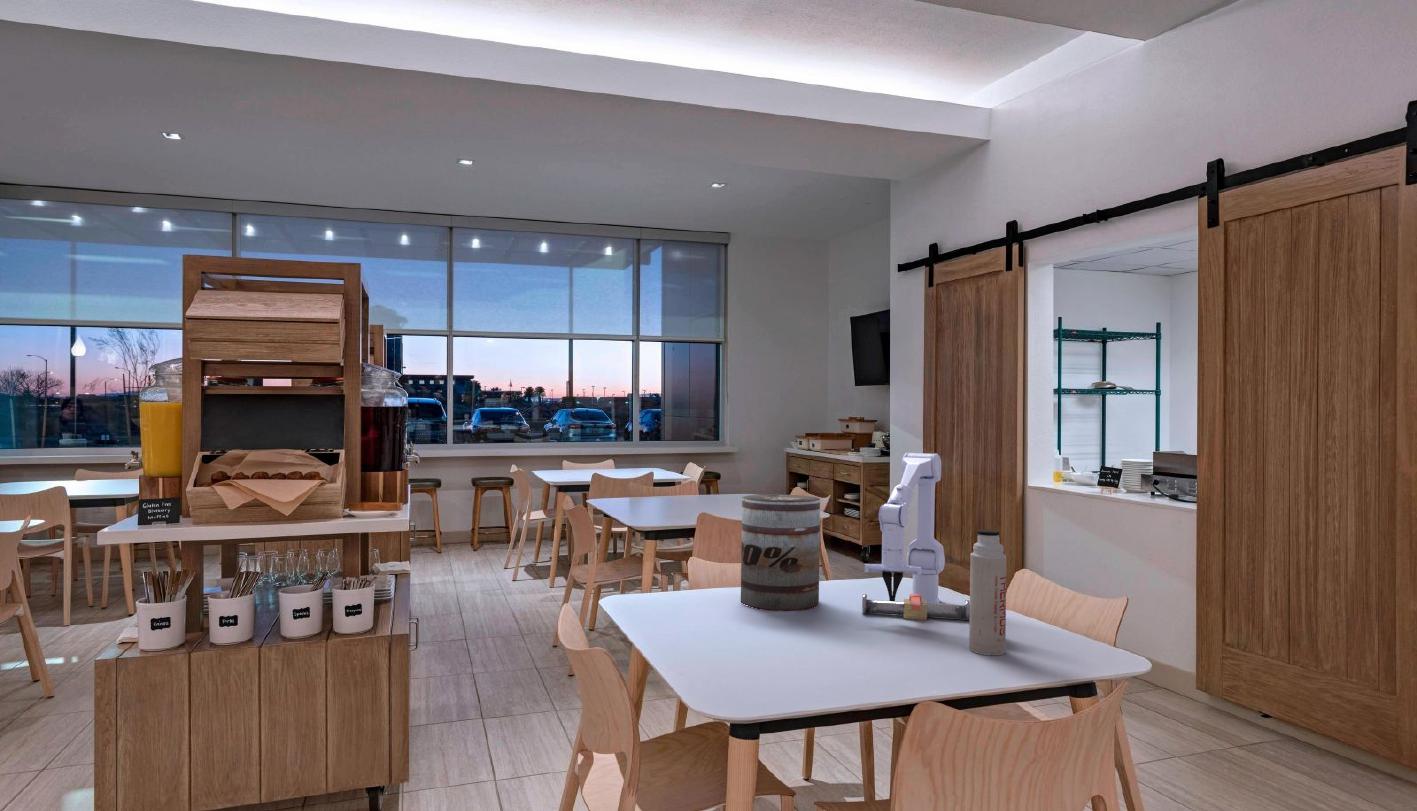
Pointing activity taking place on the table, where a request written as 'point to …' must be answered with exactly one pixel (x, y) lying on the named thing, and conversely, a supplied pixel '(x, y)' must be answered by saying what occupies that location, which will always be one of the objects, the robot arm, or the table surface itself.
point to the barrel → (780, 552)
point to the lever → (915, 601)
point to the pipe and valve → (921, 614)
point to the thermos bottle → (987, 595)
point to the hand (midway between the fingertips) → (892, 600)
